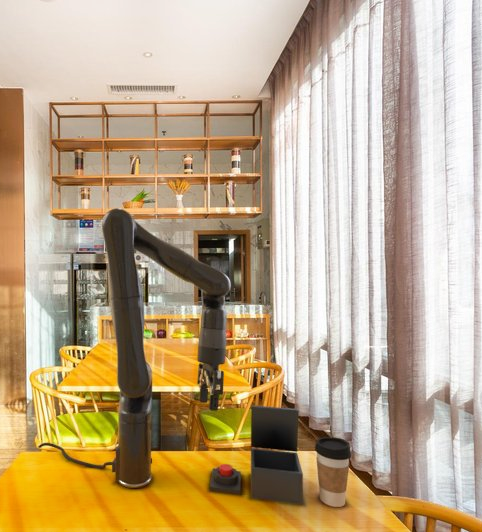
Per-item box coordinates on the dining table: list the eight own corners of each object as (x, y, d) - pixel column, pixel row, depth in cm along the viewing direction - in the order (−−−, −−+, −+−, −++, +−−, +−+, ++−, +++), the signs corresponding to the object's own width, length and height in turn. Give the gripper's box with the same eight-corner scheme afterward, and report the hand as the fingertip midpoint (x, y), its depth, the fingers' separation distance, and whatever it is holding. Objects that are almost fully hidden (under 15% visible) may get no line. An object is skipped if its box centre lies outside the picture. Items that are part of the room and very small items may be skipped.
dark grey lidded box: (302, 504, 100) (302, 473, 100) (251, 498, 102) (251, 468, 102) (296, 480, 111) (297, 452, 111) (250, 475, 114) (250, 447, 114)
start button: (218, 476, 108) (218, 469, 108) (219, 469, 112) (219, 463, 112) (232, 477, 107) (232, 471, 107) (232, 470, 111) (232, 464, 111)
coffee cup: (354, 512, 97) (355, 450, 97) (317, 507, 98) (318, 447, 98) (345, 493, 105) (346, 436, 105) (311, 489, 107) (312, 433, 107)
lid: (298, 410, 108) (298, 409, 109) (251, 406, 111) (251, 405, 112) (297, 451, 111) (296, 450, 111) (250, 447, 113) (250, 445, 114)
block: (209, 491, 105) (209, 479, 105) (212, 472, 115) (212, 461, 115) (240, 495, 104) (240, 483, 104) (241, 475, 113) (241, 464, 113)
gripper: (191, 341, 115) (187, 399, 113) (207, 347, 101) (203, 412, 99) (216, 343, 116) (212, 400, 114) (235, 348, 102) (231, 413, 101)
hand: (208, 406), depth 107 cm, fingers open, 8 cm apart
